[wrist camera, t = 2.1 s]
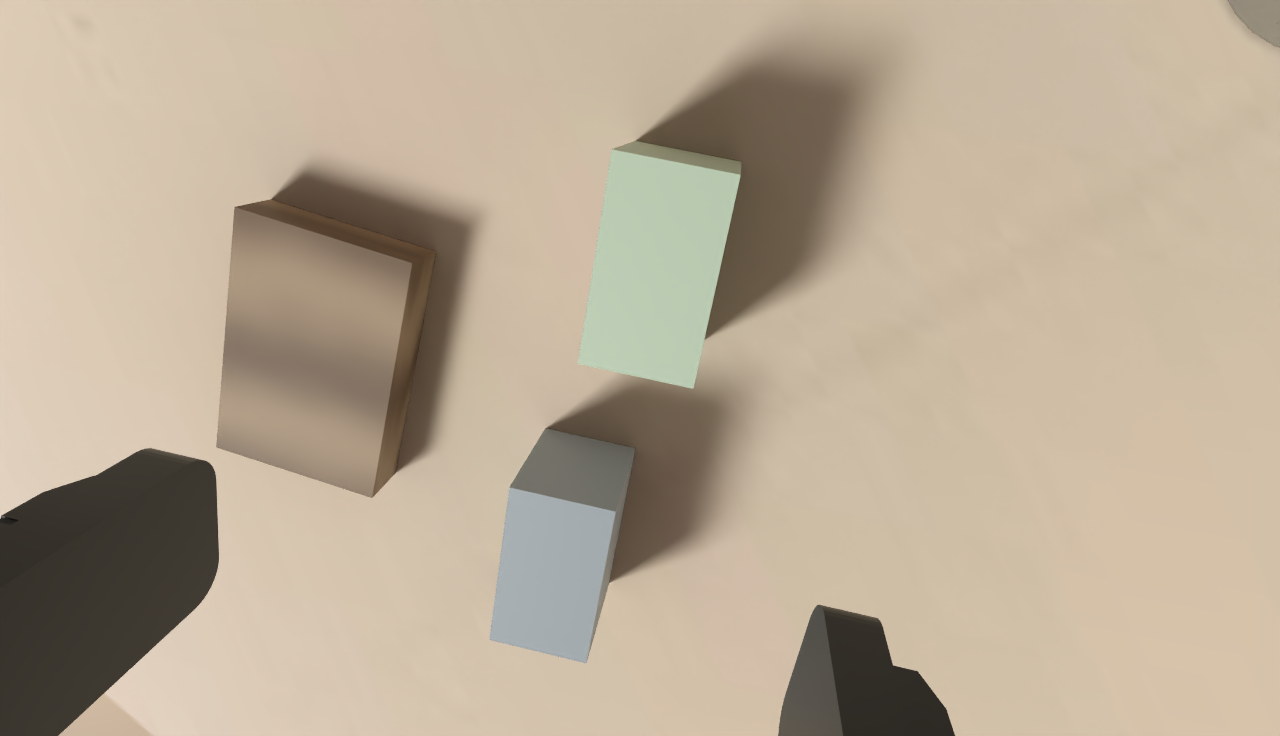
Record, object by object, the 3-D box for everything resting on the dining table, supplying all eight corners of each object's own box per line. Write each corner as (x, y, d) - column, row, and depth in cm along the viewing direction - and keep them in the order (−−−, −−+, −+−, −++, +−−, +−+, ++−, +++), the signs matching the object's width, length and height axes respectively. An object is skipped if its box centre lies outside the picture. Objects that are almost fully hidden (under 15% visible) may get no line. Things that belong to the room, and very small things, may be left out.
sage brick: (635, 140, 31) (612, 149, 25) (741, 161, 31) (740, 175, 25) (605, 320, 34) (577, 363, 28) (701, 340, 34) (693, 388, 28)
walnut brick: (276, 198, 34) (234, 207, 31) (439, 249, 34) (412, 263, 31) (254, 421, 39) (216, 447, 36) (399, 468, 38) (372, 497, 36)
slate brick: (546, 427, 36) (509, 487, 30) (635, 447, 36) (615, 511, 30) (526, 562, 39) (489, 639, 33) (609, 581, 39) (586, 663, 33)
